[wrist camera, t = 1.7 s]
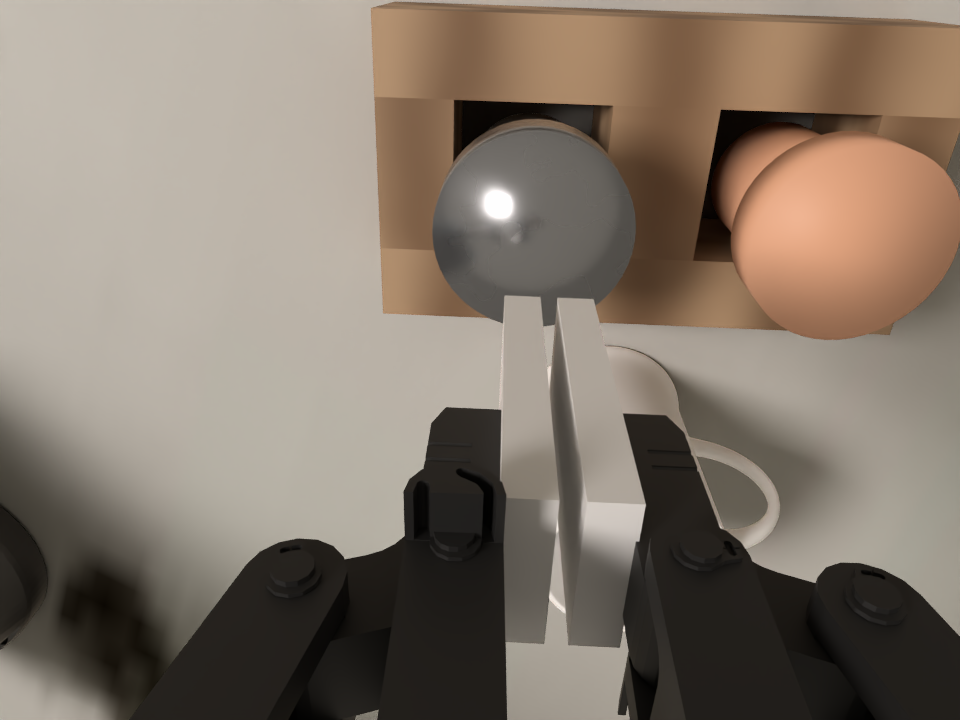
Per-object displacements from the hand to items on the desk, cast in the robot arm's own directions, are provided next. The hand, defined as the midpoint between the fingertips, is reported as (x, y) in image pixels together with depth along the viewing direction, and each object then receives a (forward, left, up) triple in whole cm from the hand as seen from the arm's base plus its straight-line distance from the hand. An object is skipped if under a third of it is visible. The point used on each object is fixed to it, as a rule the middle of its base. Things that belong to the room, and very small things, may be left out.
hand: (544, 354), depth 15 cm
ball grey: (0, 0, -16) cm, 16 cm away
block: (+5, 0, -20) cm, 21 cm away
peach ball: (+10, 0, -16) cm, 19 cm away
